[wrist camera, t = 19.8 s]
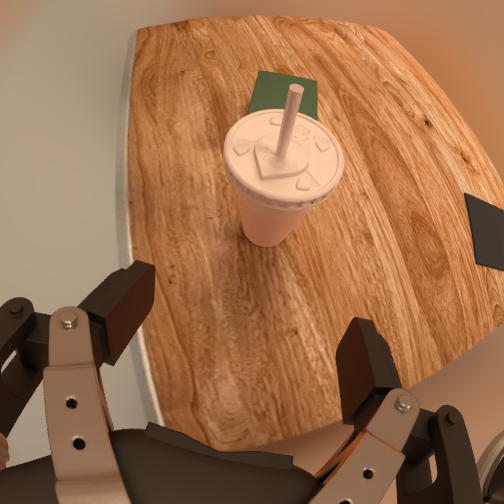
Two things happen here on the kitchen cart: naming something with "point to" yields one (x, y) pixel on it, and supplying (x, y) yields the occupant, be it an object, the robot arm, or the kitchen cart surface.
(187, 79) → the kitchen cart surface
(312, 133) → the smoothie
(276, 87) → the scrubber
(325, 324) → the kitchen cart surface
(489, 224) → the cloth
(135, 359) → the kitchen cart surface
